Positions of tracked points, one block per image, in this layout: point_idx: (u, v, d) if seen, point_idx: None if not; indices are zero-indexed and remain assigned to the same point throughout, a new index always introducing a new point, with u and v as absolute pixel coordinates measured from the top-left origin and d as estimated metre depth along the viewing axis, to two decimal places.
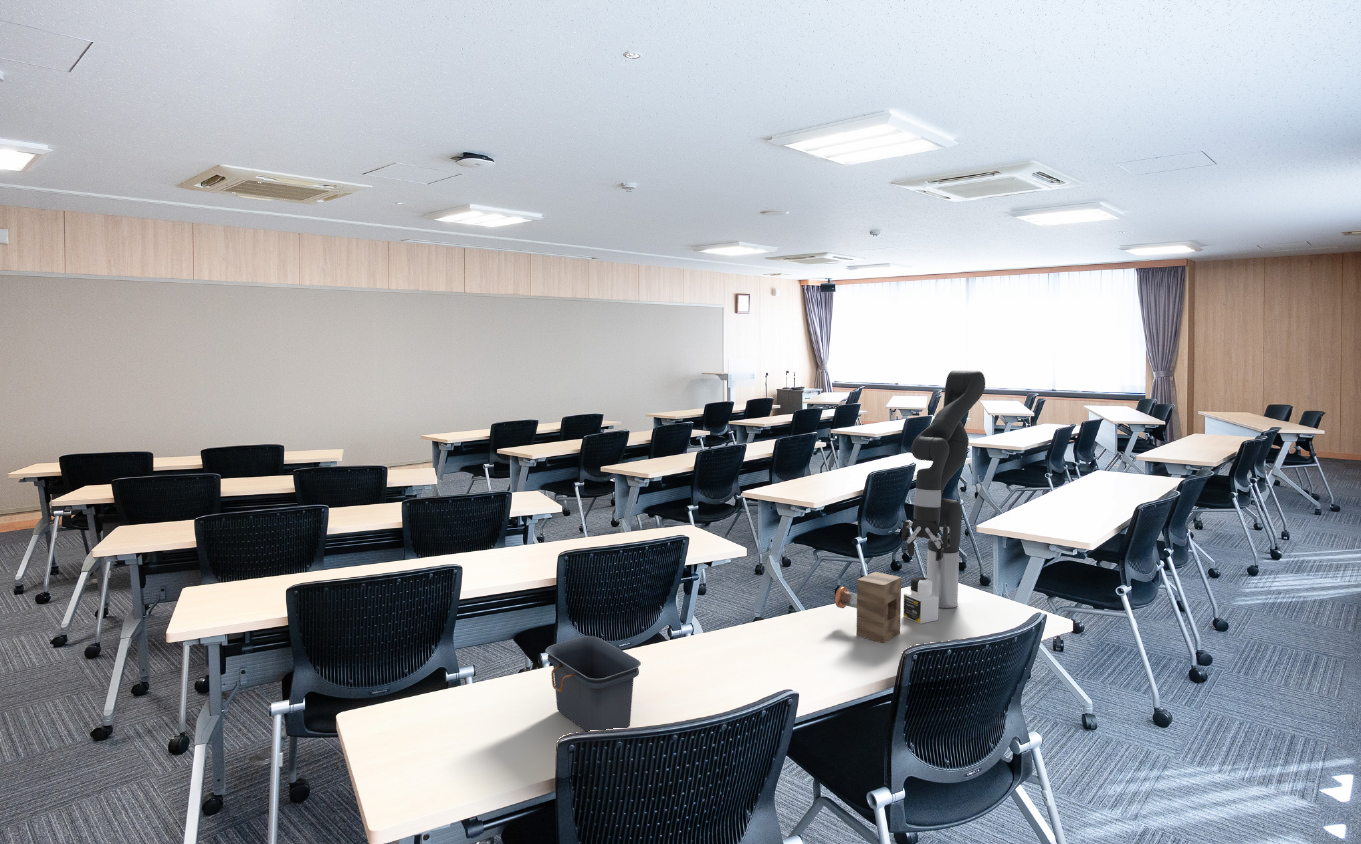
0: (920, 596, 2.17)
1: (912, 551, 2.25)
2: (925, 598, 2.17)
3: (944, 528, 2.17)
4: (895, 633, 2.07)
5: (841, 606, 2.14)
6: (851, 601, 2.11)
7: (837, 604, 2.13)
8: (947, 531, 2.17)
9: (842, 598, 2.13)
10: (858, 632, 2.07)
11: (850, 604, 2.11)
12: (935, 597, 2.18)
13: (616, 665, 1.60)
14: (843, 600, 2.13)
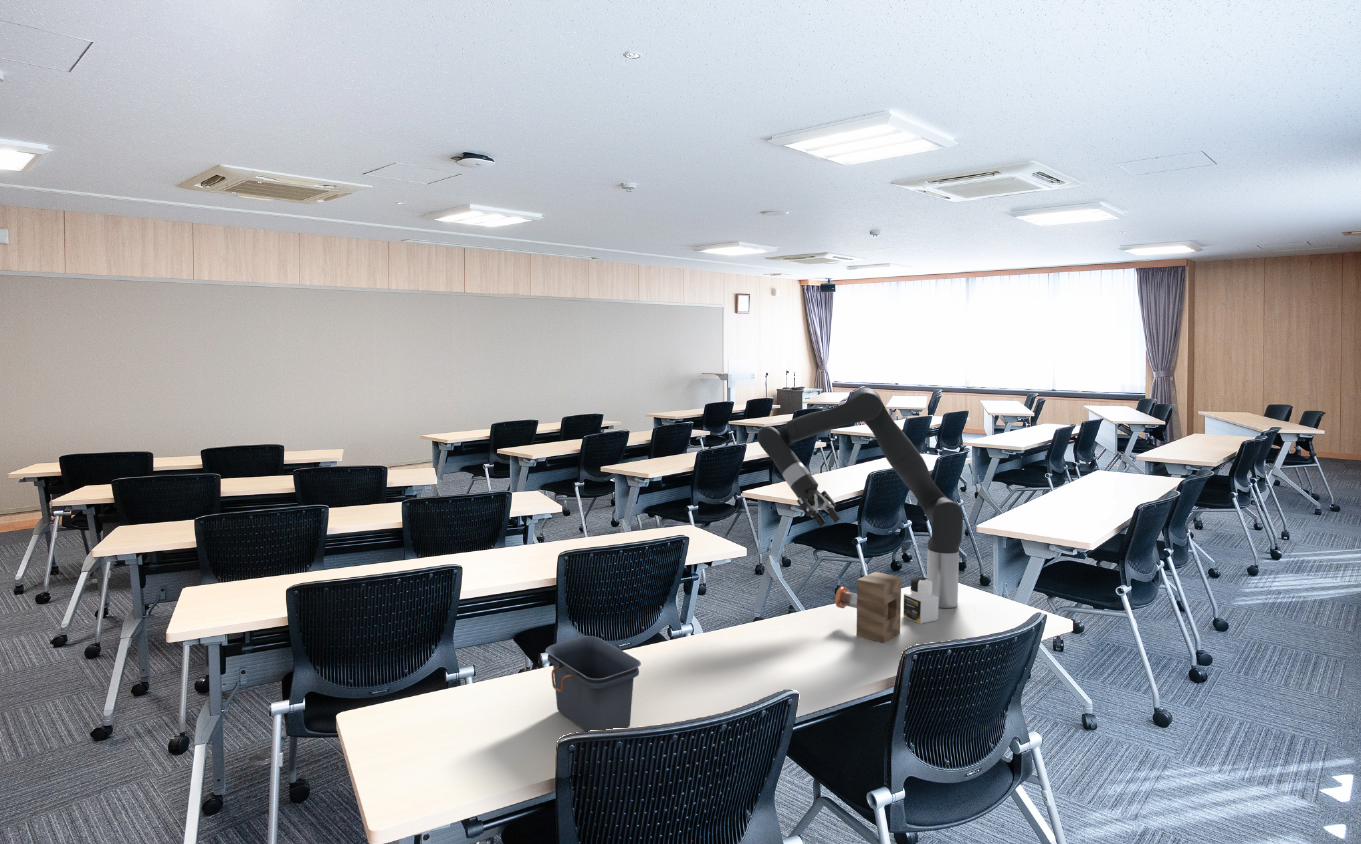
0: (920, 596, 2.17)
1: (834, 517, 2.27)
2: (925, 598, 2.17)
3: None
4: (895, 633, 2.07)
5: (841, 606, 2.14)
6: (851, 601, 2.11)
7: (837, 604, 2.13)
8: (799, 502, 2.23)
9: (842, 598, 2.13)
10: (858, 632, 2.07)
11: (850, 604, 2.11)
12: (935, 597, 2.18)
13: (616, 665, 1.60)
14: (843, 600, 2.13)
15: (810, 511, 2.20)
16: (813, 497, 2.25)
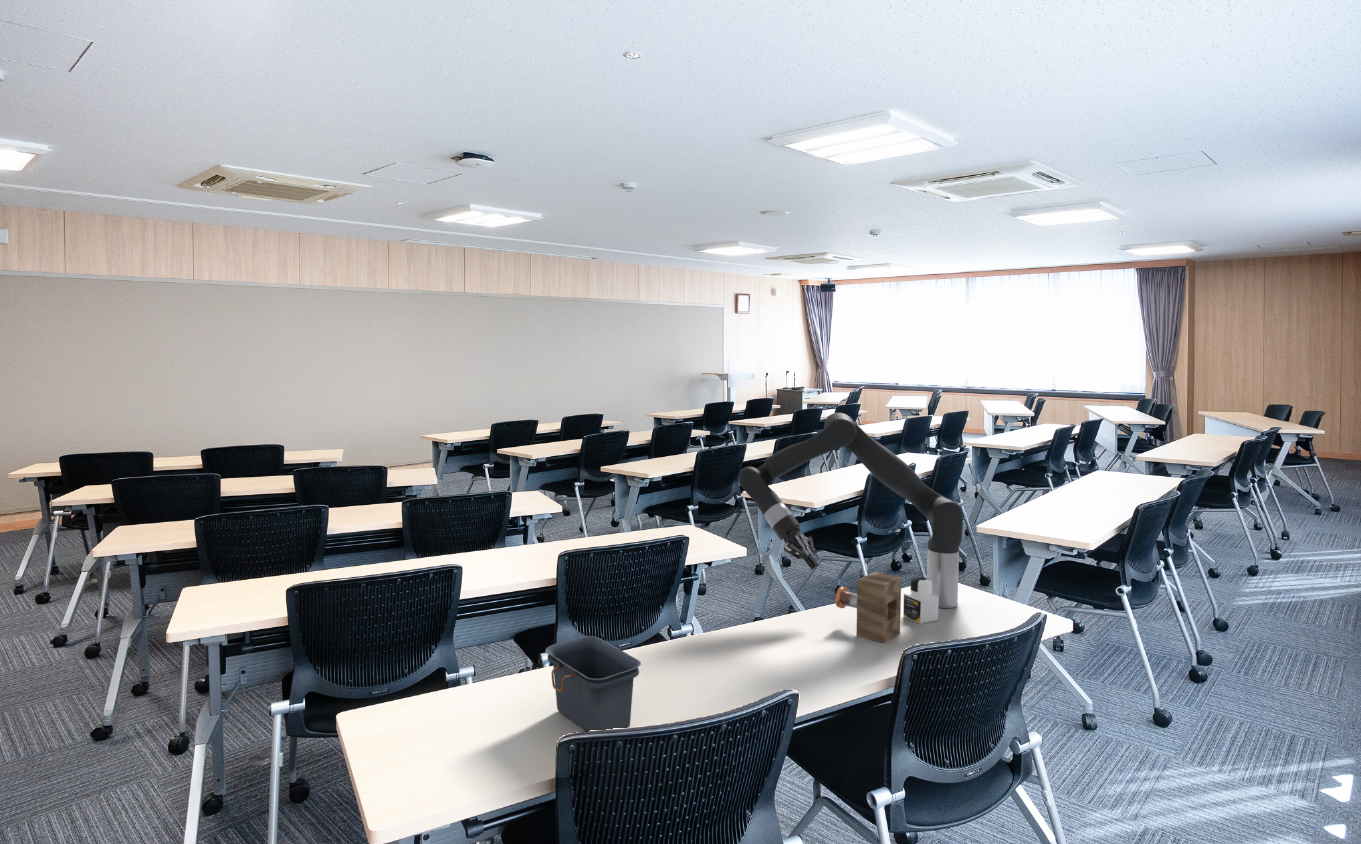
0: (920, 596, 2.17)
1: None
2: (925, 598, 2.17)
3: None
4: (895, 633, 2.07)
5: (841, 606, 2.14)
6: (851, 601, 2.11)
7: (837, 604, 2.13)
8: (787, 550, 2.21)
9: (842, 598, 2.13)
10: (858, 632, 2.07)
11: (850, 604, 2.11)
12: (935, 597, 2.18)
13: (616, 665, 1.60)
14: (843, 600, 2.13)
15: (802, 555, 2.20)
16: (796, 540, 2.23)
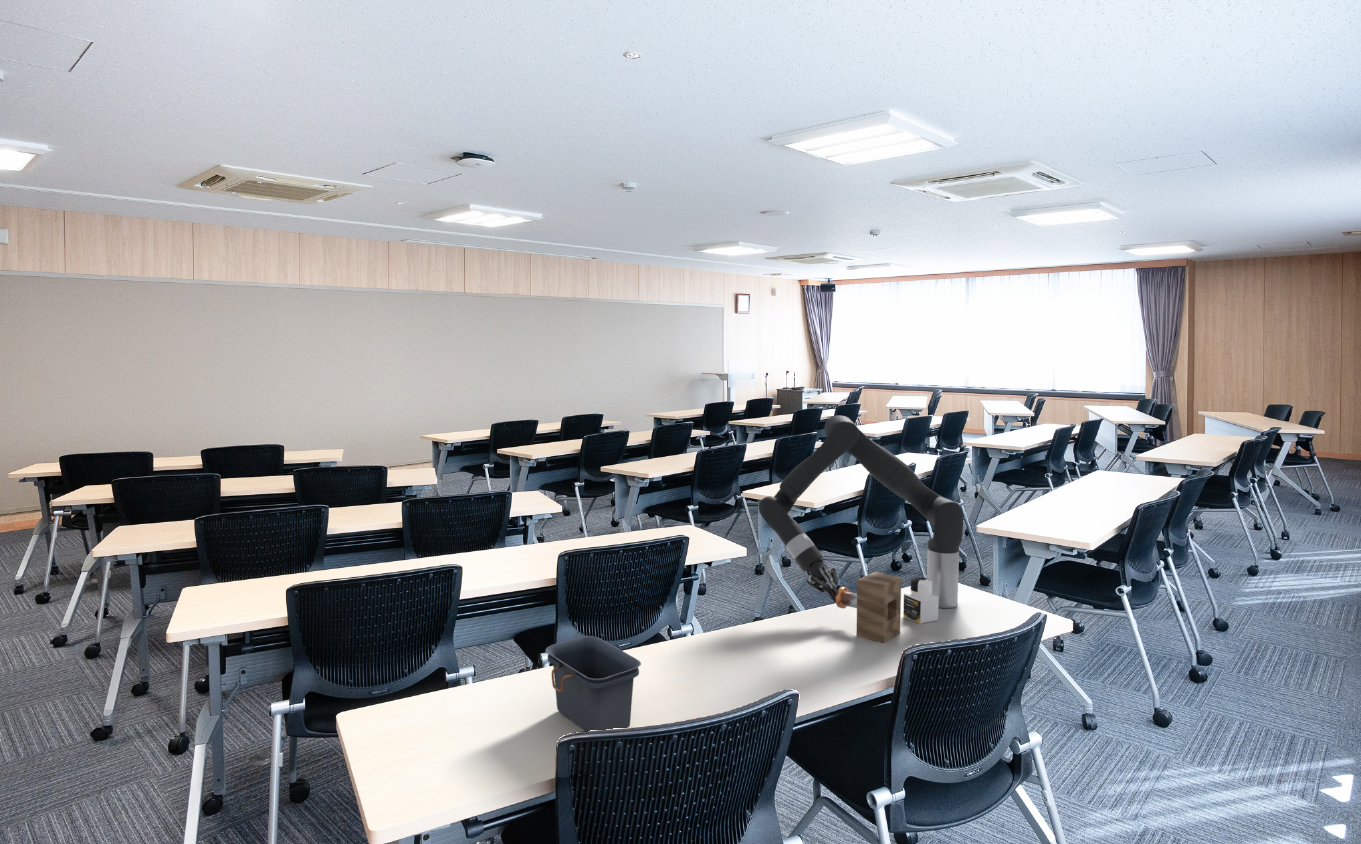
0: (920, 596, 2.17)
1: None
2: (925, 598, 2.17)
3: None
4: (895, 633, 2.07)
5: (842, 606, 2.14)
6: (852, 601, 2.11)
7: (838, 604, 2.13)
8: (811, 583, 2.16)
9: (843, 598, 2.13)
10: (858, 632, 2.07)
11: (851, 604, 2.11)
12: (935, 597, 2.18)
13: (616, 665, 1.60)
14: (844, 600, 2.13)
15: (825, 588, 2.15)
16: (820, 572, 2.18)
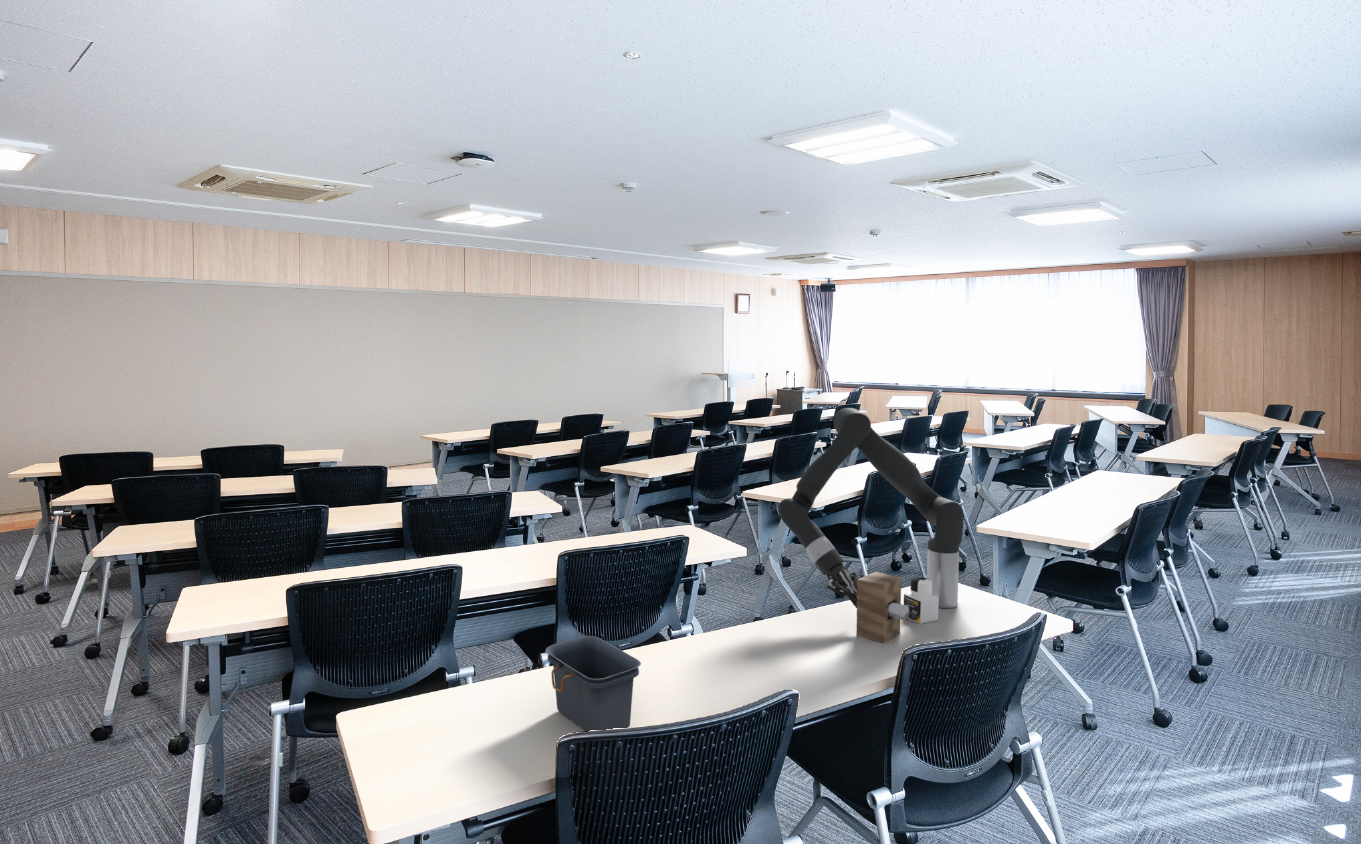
0: (920, 596, 2.17)
1: None
2: (925, 598, 2.17)
3: None
4: (895, 633, 2.07)
5: None
6: None
7: None
8: (831, 588, 2.11)
9: None
10: (858, 632, 2.07)
11: None
12: (935, 597, 2.18)
13: (616, 665, 1.60)
14: None
15: (846, 593, 2.11)
16: (840, 576, 2.13)
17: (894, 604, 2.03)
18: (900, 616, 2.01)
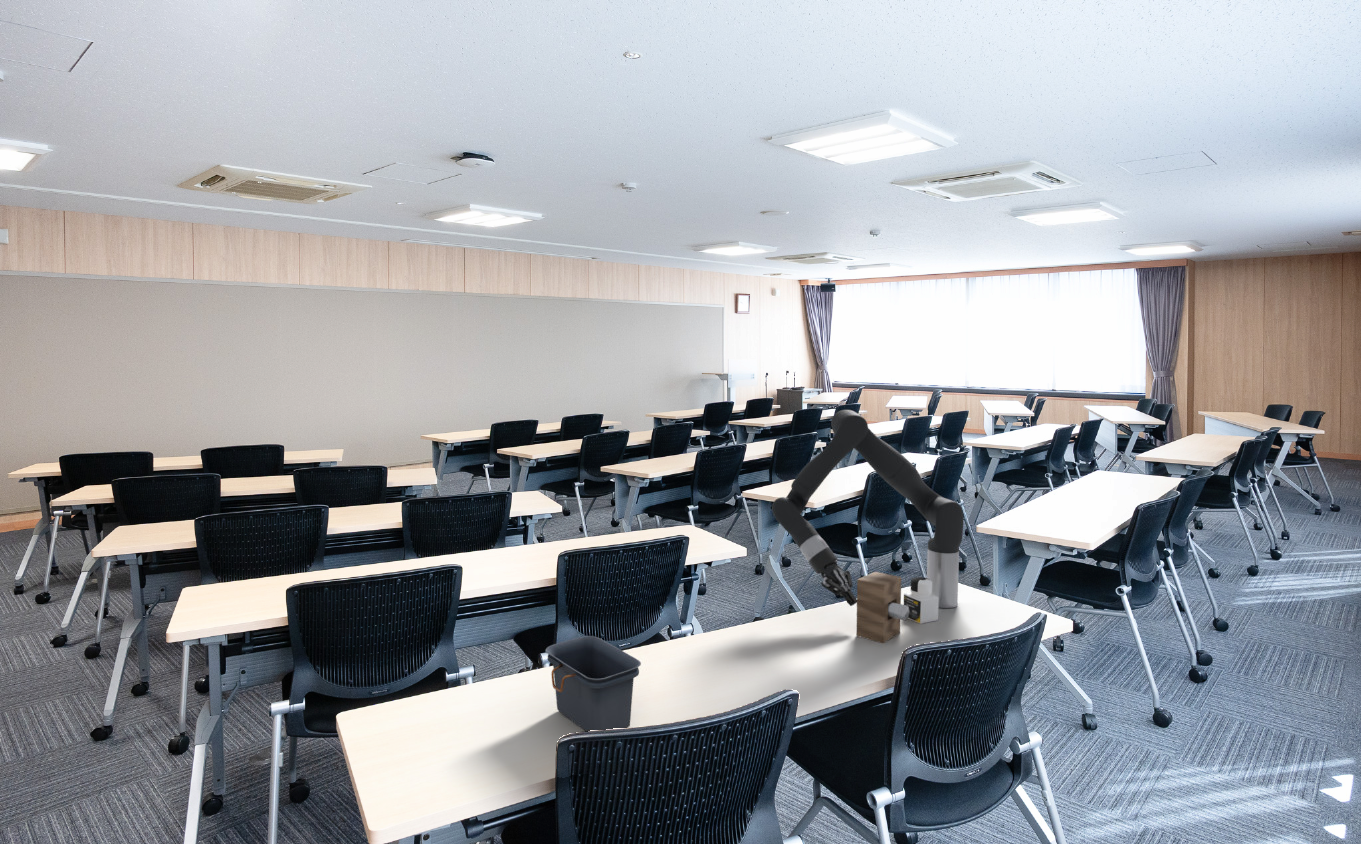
0: (920, 596, 2.17)
1: None
2: (925, 598, 2.17)
3: None
4: (895, 633, 2.07)
5: None
6: None
7: None
8: (826, 586, 2.12)
9: None
10: (858, 632, 2.07)
11: None
12: (935, 597, 2.18)
13: (616, 665, 1.60)
14: None
15: (840, 591, 2.12)
16: (834, 575, 2.14)
17: (894, 604, 2.03)
18: (900, 616, 2.01)
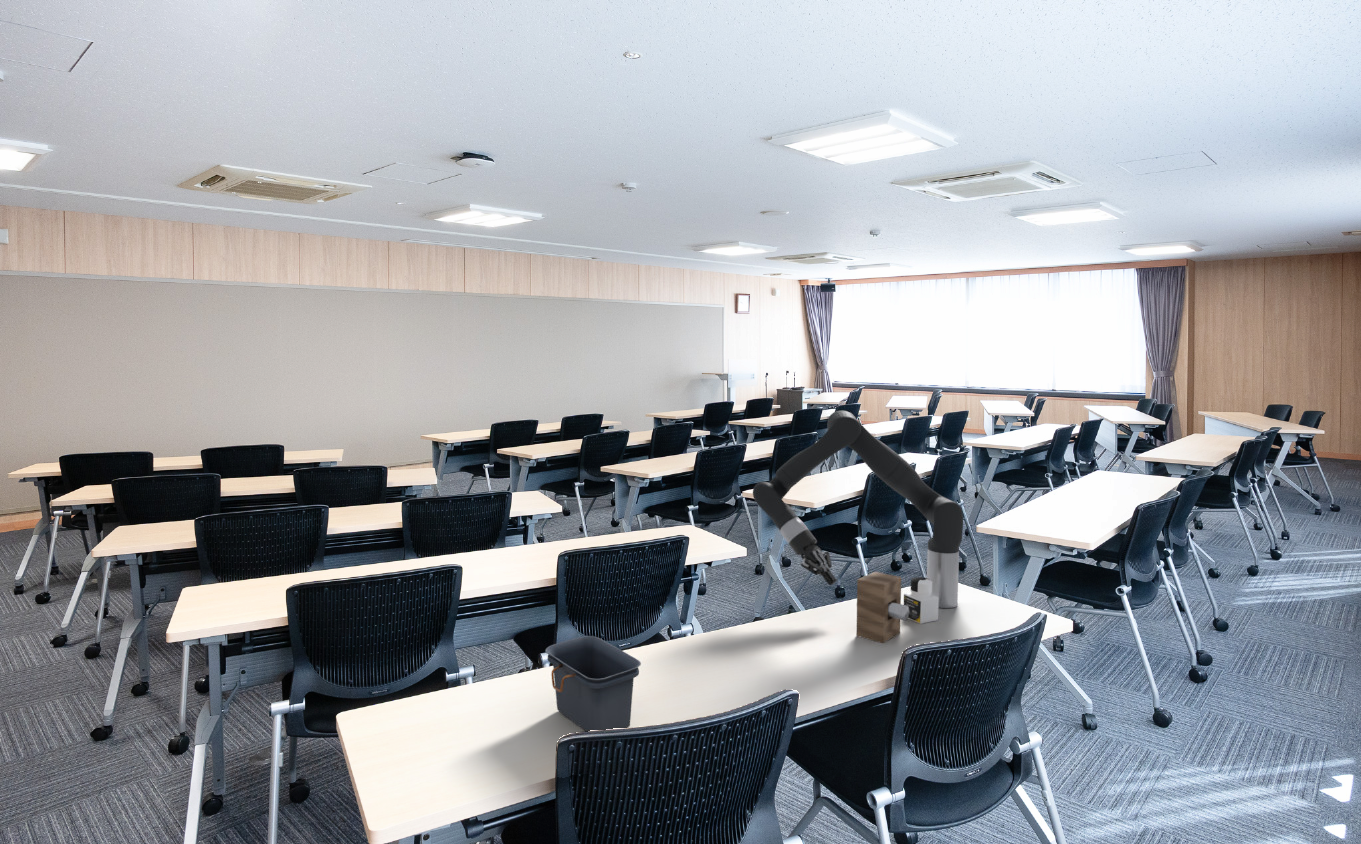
0: (920, 596, 2.17)
1: None
2: (925, 598, 2.17)
3: None
4: (895, 633, 2.07)
5: None
6: None
7: None
8: (805, 566, 2.18)
9: None
10: (858, 632, 2.07)
11: None
12: (935, 597, 2.18)
13: (616, 665, 1.60)
14: None
15: (819, 571, 2.18)
16: (813, 555, 2.20)
17: (894, 604, 2.03)
18: (900, 616, 2.01)
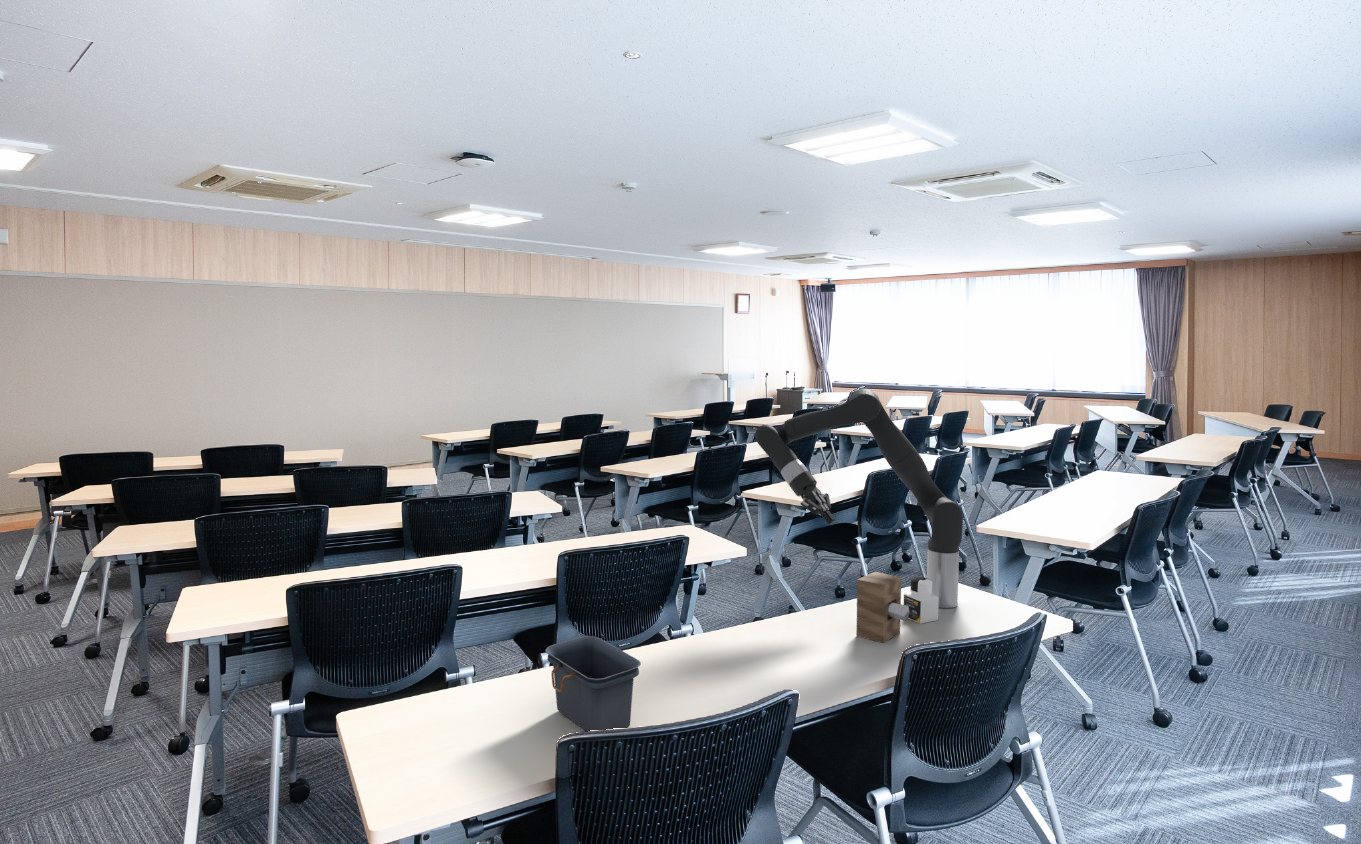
0: (920, 596, 2.17)
1: None
2: (925, 598, 2.17)
3: None
4: (895, 633, 2.07)
5: None
6: None
7: None
8: (805, 505, 2.22)
9: None
10: (858, 632, 2.07)
11: None
12: (935, 597, 2.18)
13: (616, 664, 1.60)
14: None
15: (819, 510, 2.22)
16: (813, 495, 2.25)
17: (894, 604, 2.03)
18: (900, 616, 2.01)
